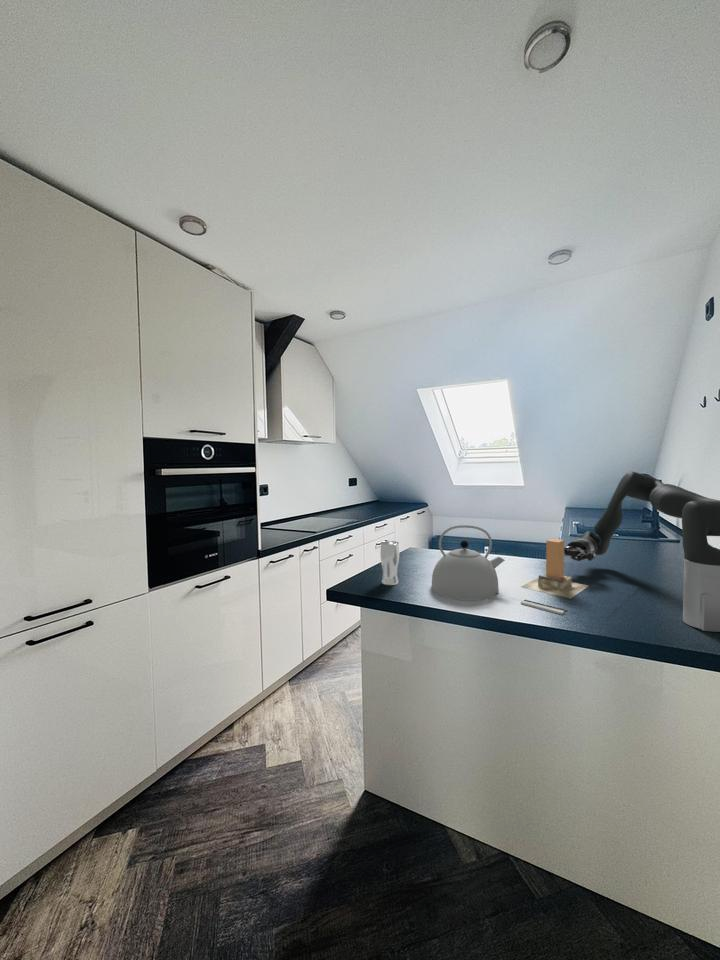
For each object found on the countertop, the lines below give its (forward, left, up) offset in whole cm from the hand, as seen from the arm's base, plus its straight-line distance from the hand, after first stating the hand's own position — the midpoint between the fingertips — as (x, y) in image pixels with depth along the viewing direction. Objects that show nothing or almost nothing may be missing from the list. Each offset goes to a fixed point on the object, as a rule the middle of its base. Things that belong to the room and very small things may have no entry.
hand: (565, 556), depth 139 cm
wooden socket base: (-8, +5, -10) cm, 14 cm away
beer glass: (-12, +62, -10) cm, 64 cm away
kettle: (-13, +35, -10) cm, 38 cm away
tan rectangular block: (-8, +5, -9) cm, 13 cm away
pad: (-23, +11, -10) cm, 27 cm away
